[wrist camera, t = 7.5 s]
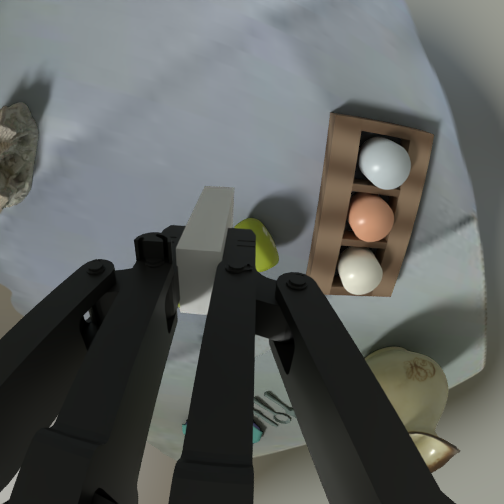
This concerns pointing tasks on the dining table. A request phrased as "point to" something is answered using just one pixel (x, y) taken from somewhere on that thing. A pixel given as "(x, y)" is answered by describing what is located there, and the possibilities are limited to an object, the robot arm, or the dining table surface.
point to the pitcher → (415, 398)
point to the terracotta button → (369, 216)
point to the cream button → (359, 270)
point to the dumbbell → (261, 244)
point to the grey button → (384, 162)
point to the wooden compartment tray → (343, 182)
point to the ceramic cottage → (16, 153)
